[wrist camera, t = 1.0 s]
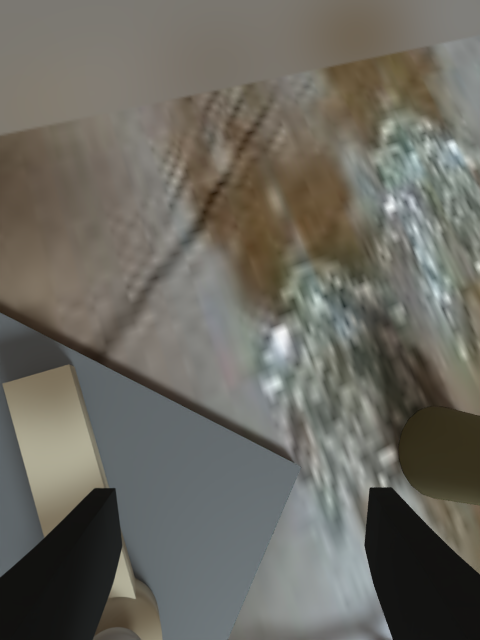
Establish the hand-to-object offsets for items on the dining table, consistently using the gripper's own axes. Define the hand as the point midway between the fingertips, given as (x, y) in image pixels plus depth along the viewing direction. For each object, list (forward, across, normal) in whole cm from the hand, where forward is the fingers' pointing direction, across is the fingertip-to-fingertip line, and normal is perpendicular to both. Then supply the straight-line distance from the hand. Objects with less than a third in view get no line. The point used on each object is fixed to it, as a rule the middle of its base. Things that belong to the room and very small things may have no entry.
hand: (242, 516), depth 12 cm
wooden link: (+8, +8, +7) cm, 14 cm away
